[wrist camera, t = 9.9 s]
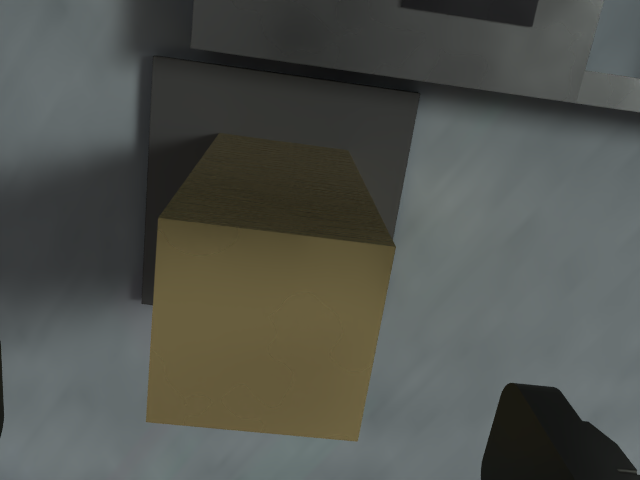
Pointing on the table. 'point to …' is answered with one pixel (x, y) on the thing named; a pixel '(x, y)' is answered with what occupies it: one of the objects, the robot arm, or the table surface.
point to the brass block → (268, 292)
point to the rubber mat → (270, 129)
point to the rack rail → (427, 42)
